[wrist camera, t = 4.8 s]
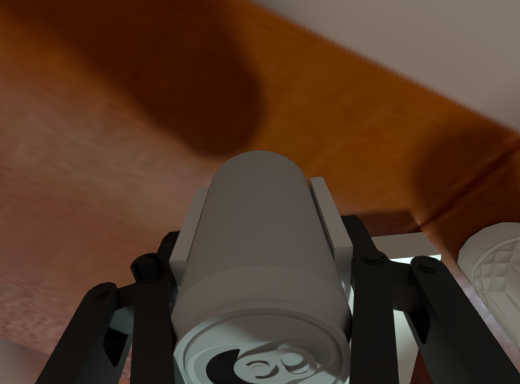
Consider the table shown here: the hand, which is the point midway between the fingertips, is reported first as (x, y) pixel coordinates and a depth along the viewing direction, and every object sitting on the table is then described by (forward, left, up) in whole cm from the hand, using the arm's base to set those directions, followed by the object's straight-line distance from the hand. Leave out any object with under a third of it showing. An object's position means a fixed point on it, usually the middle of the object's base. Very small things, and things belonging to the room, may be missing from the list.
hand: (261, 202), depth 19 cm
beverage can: (0, 0, -2) cm, 2 cm away
